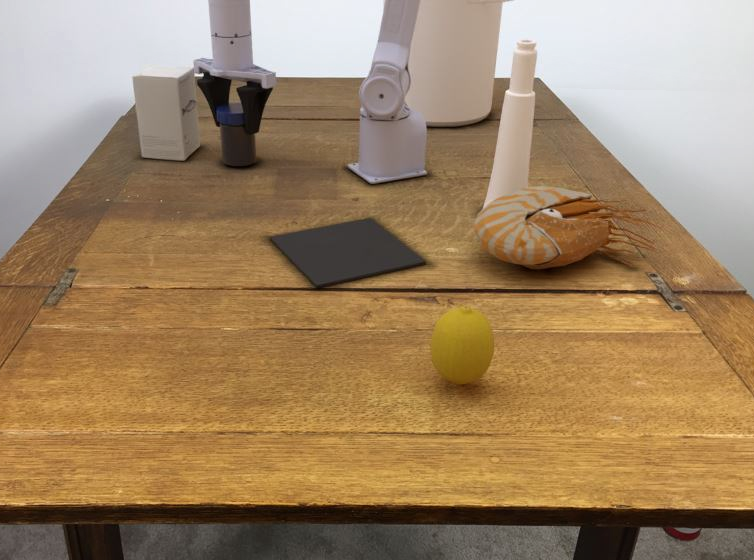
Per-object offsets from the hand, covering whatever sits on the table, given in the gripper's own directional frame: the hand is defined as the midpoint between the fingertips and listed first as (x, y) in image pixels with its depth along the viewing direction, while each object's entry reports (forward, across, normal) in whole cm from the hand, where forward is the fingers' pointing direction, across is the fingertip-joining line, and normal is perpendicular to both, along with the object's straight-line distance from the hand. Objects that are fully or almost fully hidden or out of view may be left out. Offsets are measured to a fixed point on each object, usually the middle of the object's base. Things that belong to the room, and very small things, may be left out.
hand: (237, 129), depth 118 cm
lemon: (+6, +56, -31) cm, 64 cm away
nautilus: (+6, +53, -1) cm, 53 cm away
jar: (+5, 0, 0) cm, 5 cm away
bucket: (+6, +9, +42) cm, 44 cm away
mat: (+5, +32, -15) cm, 35 cm away
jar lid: (-3, 0, 0) cm, 3 cm away
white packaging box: (+5, -12, -3) cm, 13 cm away
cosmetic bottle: (+6, +42, +7) cm, 43 cm away
